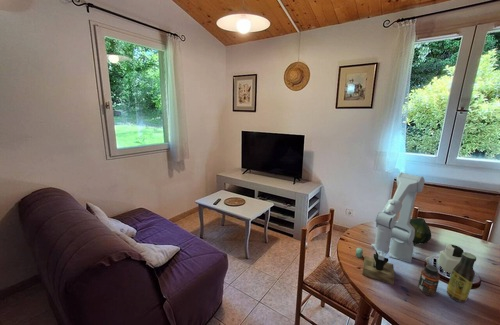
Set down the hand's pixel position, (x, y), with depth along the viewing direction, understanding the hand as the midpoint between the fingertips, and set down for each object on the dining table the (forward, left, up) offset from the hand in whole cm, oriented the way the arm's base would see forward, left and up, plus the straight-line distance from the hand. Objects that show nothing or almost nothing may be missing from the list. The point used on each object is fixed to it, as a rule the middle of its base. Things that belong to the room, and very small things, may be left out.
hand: (378, 264), depth 103 cm
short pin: (+8, -9, -4) cm, 13 cm away
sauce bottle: (-28, 0, -4) cm, 28 cm away
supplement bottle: (-18, +2, -4) cm, 19 cm away
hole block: (0, 0, -4) cm, 4 cm away
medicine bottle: (-30, -20, -4) cm, 36 cm away
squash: (-18, -41, -4) cm, 45 cm away
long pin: (0, 0, -4) cm, 4 cm away
